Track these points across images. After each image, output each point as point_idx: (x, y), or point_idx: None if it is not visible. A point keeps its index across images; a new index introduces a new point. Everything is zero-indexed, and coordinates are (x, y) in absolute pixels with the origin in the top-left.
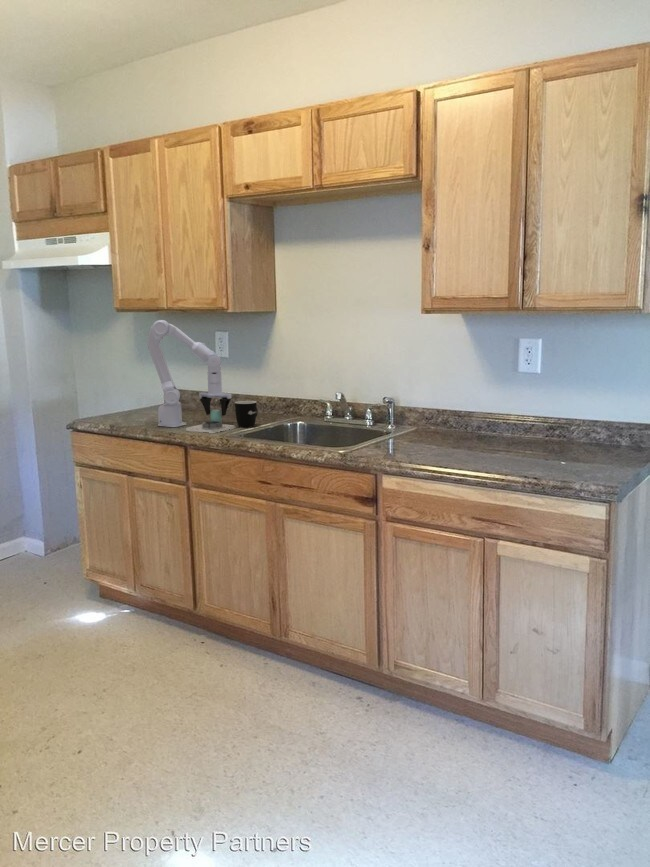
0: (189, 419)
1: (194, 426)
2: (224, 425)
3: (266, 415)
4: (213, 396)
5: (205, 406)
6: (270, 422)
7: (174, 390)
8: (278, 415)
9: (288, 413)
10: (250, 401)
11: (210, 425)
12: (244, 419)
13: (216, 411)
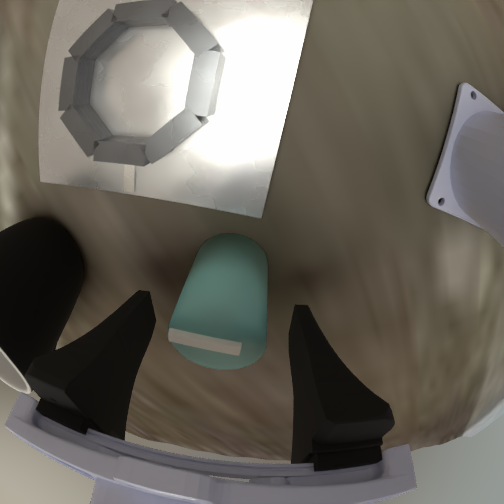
0: (428, 350)
1: (285, 18)
2: (80, 150)
3: (174, 429)
4: (220, 475)
5: (316, 358)
6: (62, 344)
7: None
8: (144, 426)
9: (146, 437)
10: (10, 382)
11: (108, 15)
12: (1, 231)
13: (180, 309)
